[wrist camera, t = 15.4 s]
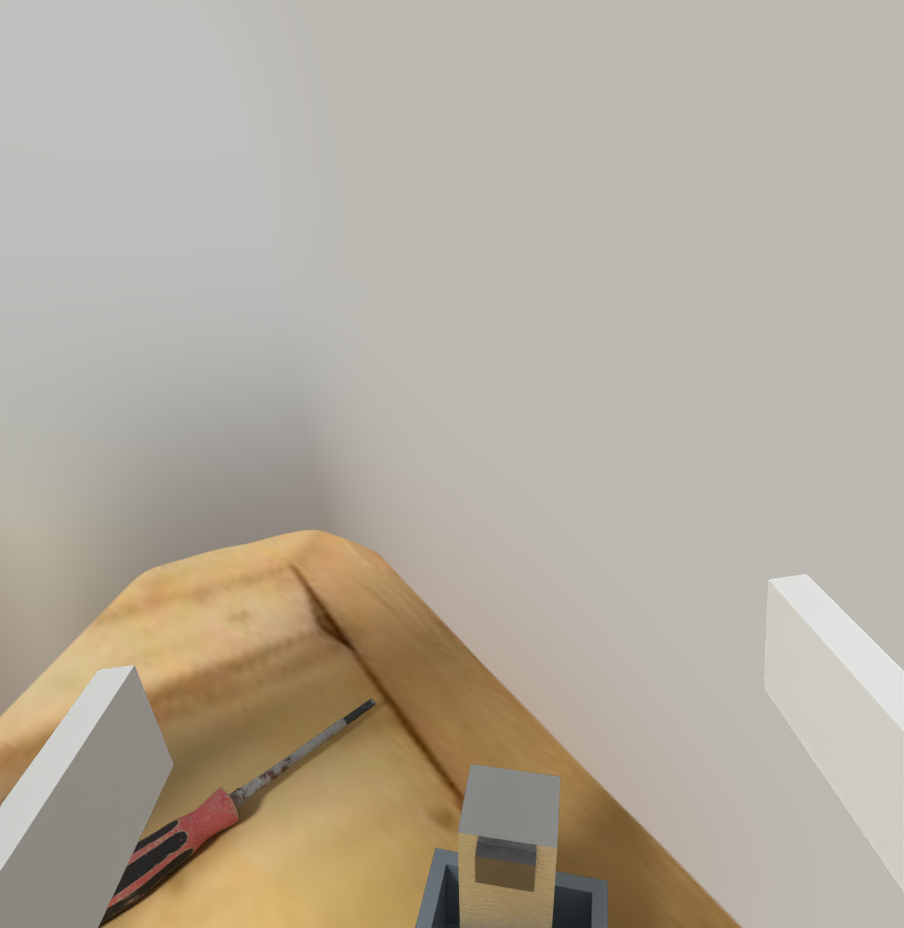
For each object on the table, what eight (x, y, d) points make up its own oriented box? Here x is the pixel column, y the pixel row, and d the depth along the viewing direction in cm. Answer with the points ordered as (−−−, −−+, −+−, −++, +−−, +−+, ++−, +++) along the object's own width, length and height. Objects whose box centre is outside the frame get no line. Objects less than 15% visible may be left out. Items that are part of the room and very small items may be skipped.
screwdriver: (363, 705, 56) (361, 678, 55) (386, 724, 54) (384, 696, 53) (45, 932, 40) (31, 900, 38) (62, 968, 38) (48, 937, 37)
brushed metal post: (459, 1062, 33) (452, 845, 26) (471, 971, 36) (468, 762, 30) (544, 1081, 32) (559, 862, 25) (548, 986, 36) (562, 774, 29)
